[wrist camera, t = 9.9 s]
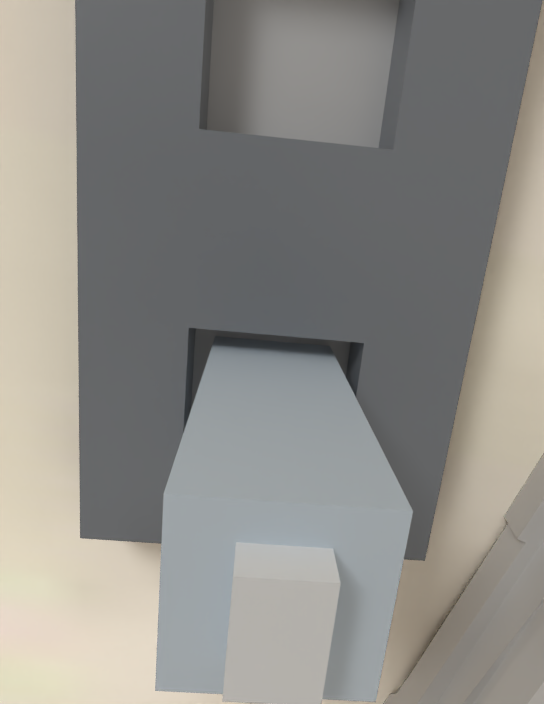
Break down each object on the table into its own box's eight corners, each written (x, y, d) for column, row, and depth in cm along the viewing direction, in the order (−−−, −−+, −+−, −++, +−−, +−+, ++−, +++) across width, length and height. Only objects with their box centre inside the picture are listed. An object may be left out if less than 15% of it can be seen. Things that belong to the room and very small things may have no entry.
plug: (215, 336, 18) (153, 524, 7) (329, 345, 18) (428, 542, 7) (208, 441, 19) (145, 735, 8) (316, 449, 19) (385, 746, 9)
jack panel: (104, -172, 14) (72, -250, 12) (527, -115, 15) (579, -178, 12) (101, 497, 20) (80, 538, 17) (405, 518, 20) (424, 560, 18)
